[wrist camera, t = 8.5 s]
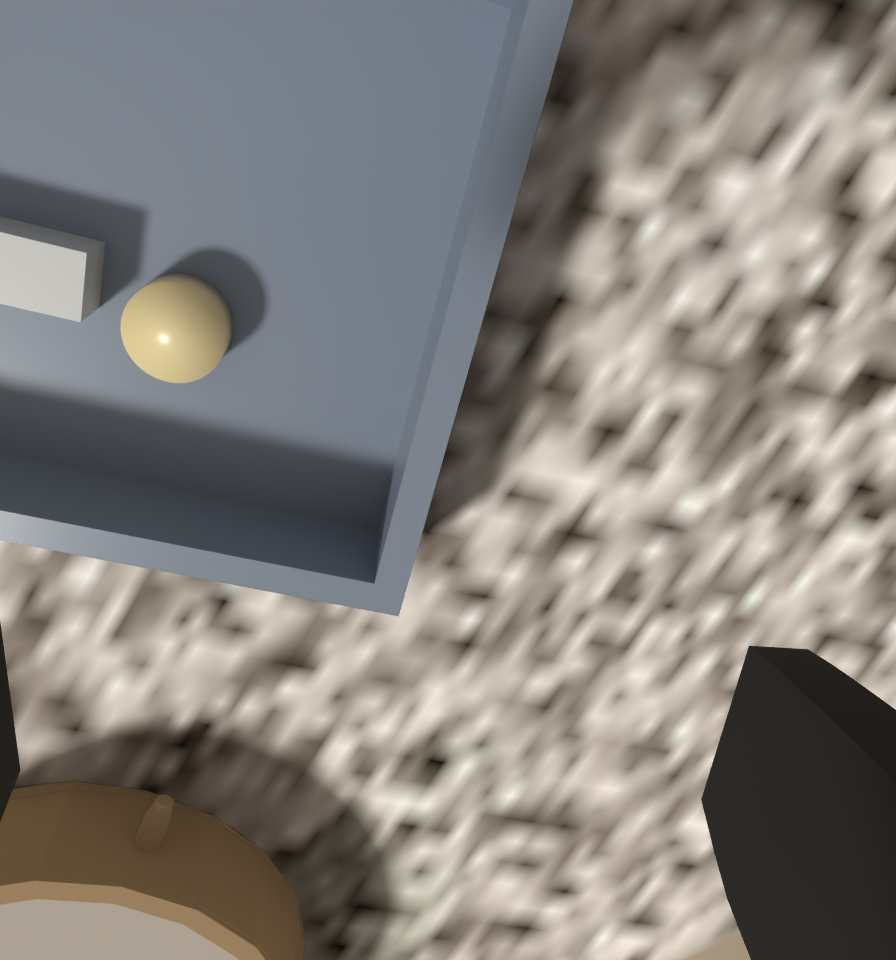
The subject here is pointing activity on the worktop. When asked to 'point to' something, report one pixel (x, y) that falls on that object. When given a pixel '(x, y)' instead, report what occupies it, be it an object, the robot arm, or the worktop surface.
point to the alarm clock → (136, 881)
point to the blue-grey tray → (251, 273)
